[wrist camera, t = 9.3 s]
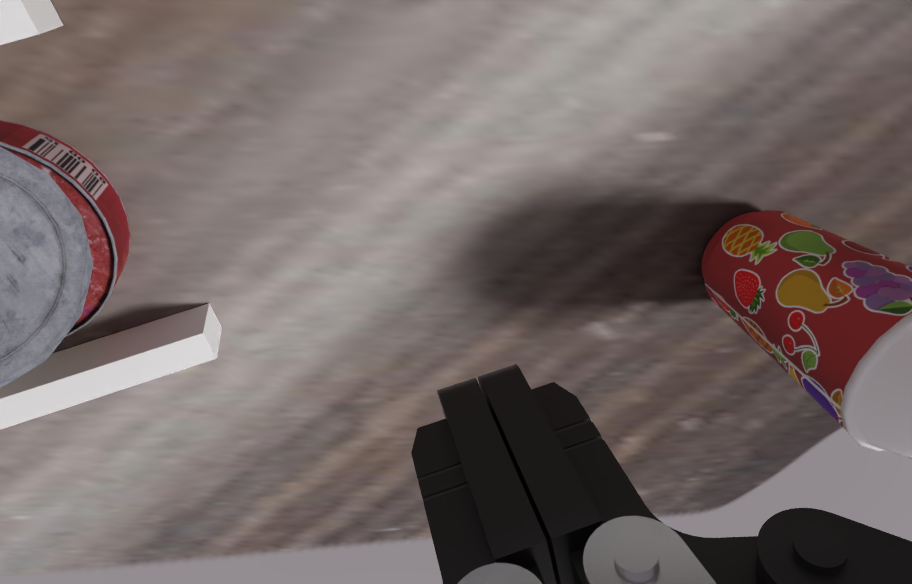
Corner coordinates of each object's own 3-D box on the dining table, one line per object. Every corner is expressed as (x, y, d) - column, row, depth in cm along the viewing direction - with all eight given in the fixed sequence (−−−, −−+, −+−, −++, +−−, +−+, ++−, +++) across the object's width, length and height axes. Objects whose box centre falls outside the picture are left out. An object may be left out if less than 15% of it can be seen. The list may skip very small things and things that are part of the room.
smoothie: (699, 331, 42) (979, 590, 25) (664, 235, 38) (975, 472, 21) (809, 267, 42) (1168, 488, 25) (787, 164, 38) (1204, 345, 21)
